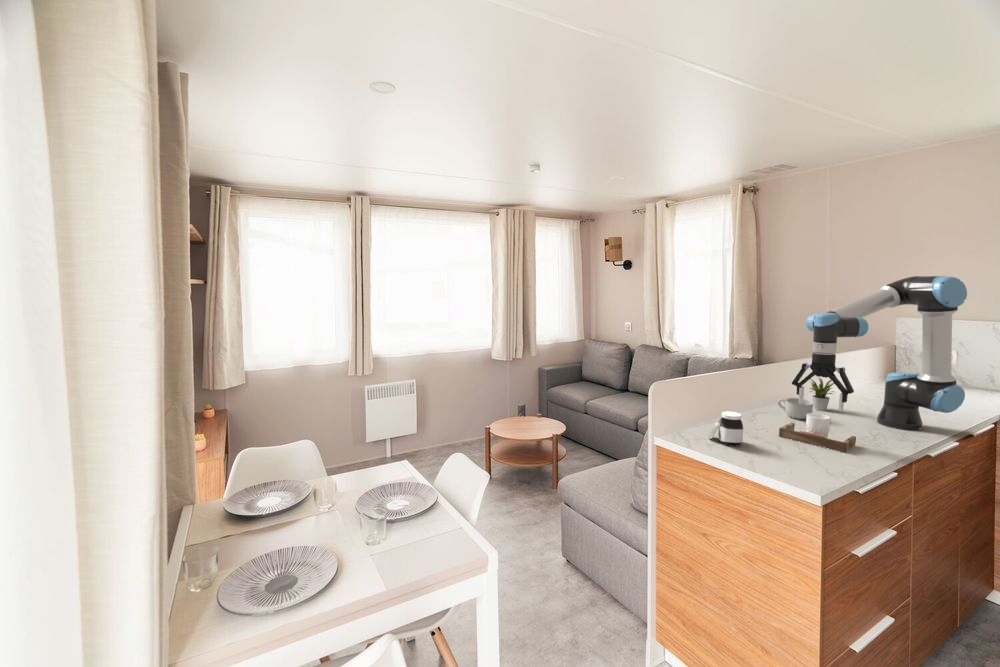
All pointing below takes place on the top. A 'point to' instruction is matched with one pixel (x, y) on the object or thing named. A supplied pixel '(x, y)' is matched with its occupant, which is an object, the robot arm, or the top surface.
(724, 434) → the spread jar
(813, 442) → the brown wooden open frame
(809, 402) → the teacup
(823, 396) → the house plant
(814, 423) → the white cup
